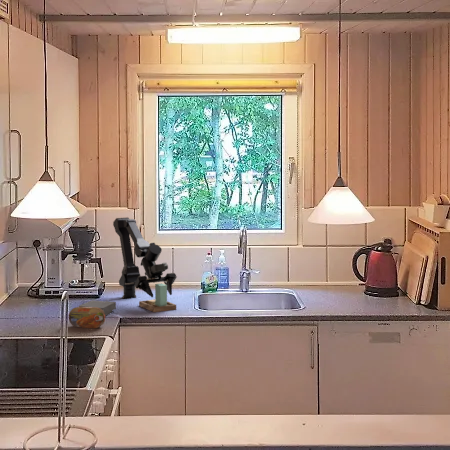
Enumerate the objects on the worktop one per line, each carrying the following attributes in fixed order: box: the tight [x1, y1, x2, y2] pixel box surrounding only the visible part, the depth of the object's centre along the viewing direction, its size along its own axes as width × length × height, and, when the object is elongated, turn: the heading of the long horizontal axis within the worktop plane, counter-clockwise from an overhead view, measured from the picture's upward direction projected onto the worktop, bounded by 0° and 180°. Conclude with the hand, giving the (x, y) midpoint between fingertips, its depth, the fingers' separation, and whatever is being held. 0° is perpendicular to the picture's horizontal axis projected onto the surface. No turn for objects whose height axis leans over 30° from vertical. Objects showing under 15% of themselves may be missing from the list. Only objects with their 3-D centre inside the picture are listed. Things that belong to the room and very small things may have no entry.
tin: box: [68, 306, 106, 329], centre depth 299 cm, size 15×3×8 cm, turn 80°
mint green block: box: [154, 282, 168, 306], centre depth 326 cm, size 5×3×11 cm, turn 33°
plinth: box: [78, 299, 117, 317], centre depth 323 cm, size 12×12×4 cm
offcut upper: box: [148, 299, 155, 305], centre depth 333 cm, size 4×4×1 cm
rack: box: [138, 299, 177, 313], centre depth 330 cm, size 15×11×3 cm
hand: (162, 295), depth 325 cm, fingers open, 9 cm apart
